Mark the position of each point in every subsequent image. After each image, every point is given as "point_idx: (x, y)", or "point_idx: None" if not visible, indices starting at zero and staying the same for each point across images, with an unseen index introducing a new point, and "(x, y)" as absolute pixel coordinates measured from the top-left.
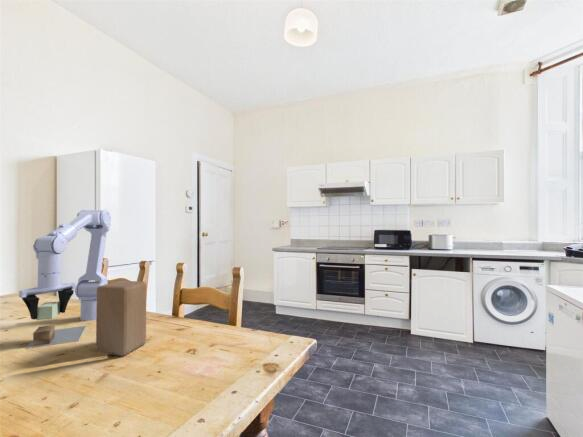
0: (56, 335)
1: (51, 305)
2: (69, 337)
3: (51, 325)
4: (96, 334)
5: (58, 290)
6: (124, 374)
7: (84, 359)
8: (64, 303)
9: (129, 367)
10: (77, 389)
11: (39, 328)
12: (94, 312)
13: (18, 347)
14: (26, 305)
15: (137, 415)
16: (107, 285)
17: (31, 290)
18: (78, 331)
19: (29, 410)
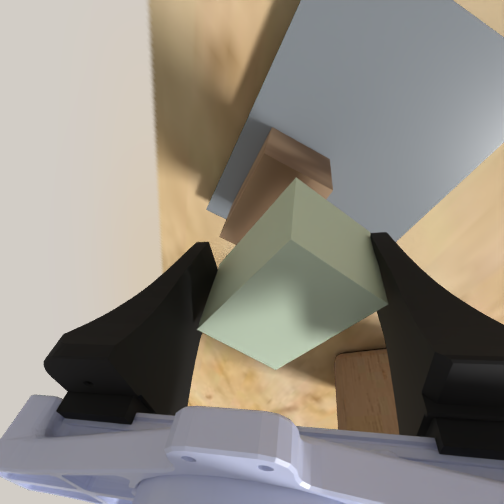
0: (347, 139)
1: (278, 357)
2: (361, 221)
3: (317, 186)
4: (337, 407)
5: (371, 449)
6: (309, 422)
7: (302, 354)
8: (384, 336)
9: (329, 417)
10: (245, 408)
11: (255, 190)
12: None
13: (198, 103)
14: (130, 301)
15: None
16: None
17: (95, 500)
18: (442, 170)
19: (190, 402)
